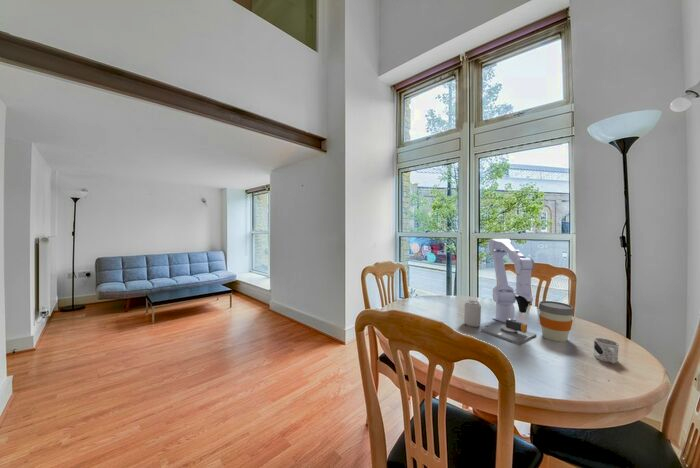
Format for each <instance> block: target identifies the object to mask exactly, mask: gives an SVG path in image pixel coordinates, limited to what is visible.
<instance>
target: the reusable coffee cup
mask: <svg viewBox="0 0 700 468" xmlns="http://www.w3.org/2000/svg"><path fill="white" fill-rule="evenodd" d="M538 310H539V314H538V317H539V324H540V326H541V333H542V337H544V338H546V339H547V340H550V341H556V342H562V343H563V342H567V341H568V339H569V338H568V337H569V333H570V331H572V325H573V316H574V306H572V305H570V304H567V303H563V302H560V301H553V300H543V301H539V303H538Z"/></svg>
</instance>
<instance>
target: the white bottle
mask: <svg viewBox="0 0 700 468" xmlns="http://www.w3.org/2000/svg"><path fill="white" fill-rule="evenodd" d="M481 308H482V305H481V304H480V302H479V301H477V300H470V299H469V300H466V302H465V303H464V317H463V318H464V324H465V325H466V326H468V327H471V328H477V327H479V326H481V320H482V319H481V317H482V315H481V314H482V311H481V310H482V309H481Z"/></svg>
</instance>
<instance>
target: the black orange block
mask: <svg viewBox="0 0 700 468" xmlns="http://www.w3.org/2000/svg"><path fill="white" fill-rule="evenodd" d="M502 324H503V325H501V330H502V331H505V332H508V333H517V332H518V331H520V332H523V333H526V332H527V331H528V323H523V322H521V321H517V320H512V319H511V318H507V320H506V323H502Z"/></svg>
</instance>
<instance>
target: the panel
mask: <svg viewBox="0 0 700 468" xmlns="http://www.w3.org/2000/svg"><path fill="white" fill-rule="evenodd" d="M503 324H504V323H503V322H500V321H498V322H496V323H494V324H490V325H489V326H486V327H483V328H481V329H480V332H482V333H485V334H487V335H490V336H493V337H495V338H499V339H501V340H504V341H508V342H510V343H514V344H516V345H518V346H521V345H522V344H524V343H526V342H528V341H530V340H532V339H534V338H536V337H537V333H533V332H530V331H528V330H527V332H526V333H523V332H520V331H518V332H517V333H508V332H505V331H502V330H501V325H503Z"/></svg>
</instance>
